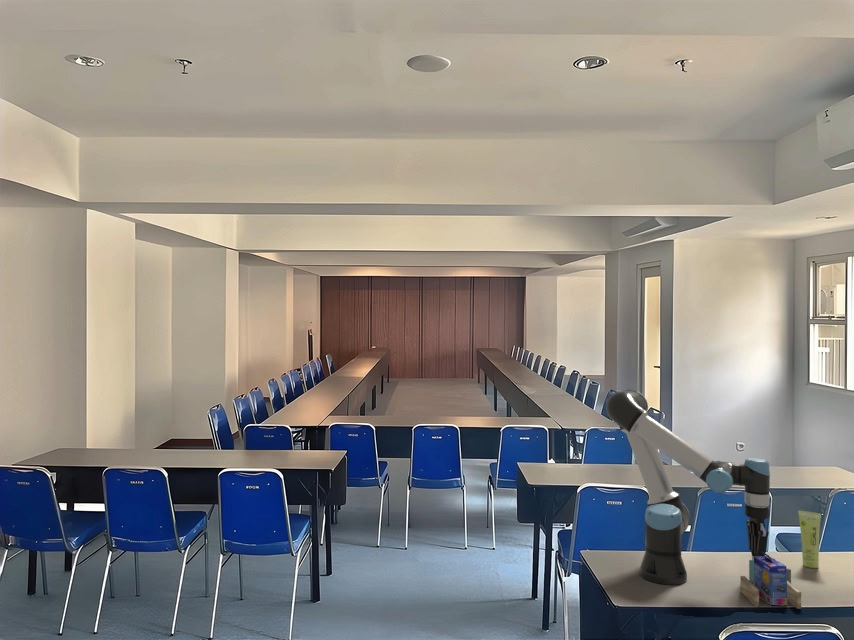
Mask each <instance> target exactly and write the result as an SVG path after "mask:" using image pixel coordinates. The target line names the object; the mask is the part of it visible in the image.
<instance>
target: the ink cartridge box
mask: <svg viewBox="0 0 854 640" xmlns="http://www.w3.org/2000/svg"><path fill="white" fill-rule="evenodd" d="M762 553H763V552H762ZM763 555H764V556H754V583H753V585H754V586H755V587H756V588H758V589H759V599H761V600H762V601H764V602H765V603H767V604H768V603H769V604H770V605H769V604H768V605H769V606H771V605H789V604H788V603H789V601H788V597H787V565H786V564H784V563H782V562H780V561H778V560H776V559H775V558H774V557H771V556H770V555H769V554H767V553H763Z"/></svg>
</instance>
